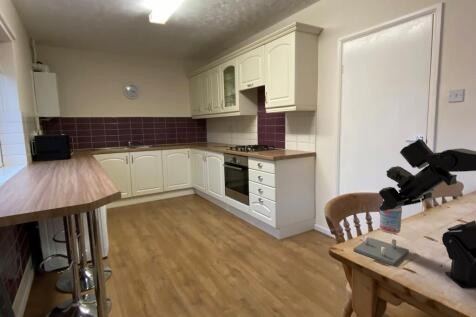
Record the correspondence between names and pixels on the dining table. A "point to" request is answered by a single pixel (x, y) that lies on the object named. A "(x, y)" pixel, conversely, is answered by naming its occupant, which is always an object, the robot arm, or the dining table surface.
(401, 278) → the dining table surface
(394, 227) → the pill bottle
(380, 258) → the pin tray
